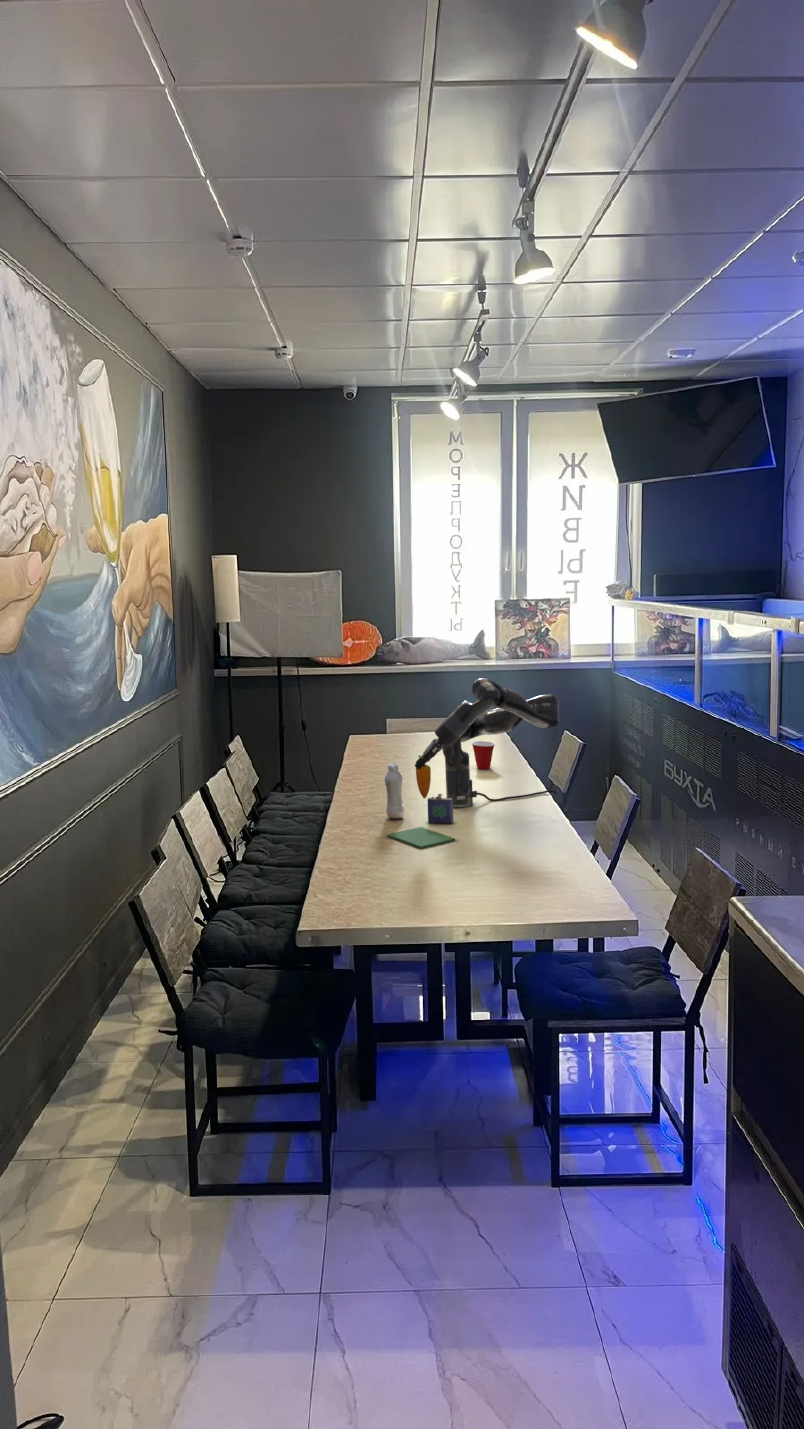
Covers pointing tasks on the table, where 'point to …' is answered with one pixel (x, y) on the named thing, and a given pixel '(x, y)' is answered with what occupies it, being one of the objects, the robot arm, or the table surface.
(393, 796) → the plastic bottle
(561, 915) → the table surface
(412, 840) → the green mat
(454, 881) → the table surface
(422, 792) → the carrot
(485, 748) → the plastic cup
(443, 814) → the flask
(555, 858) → the table surface
